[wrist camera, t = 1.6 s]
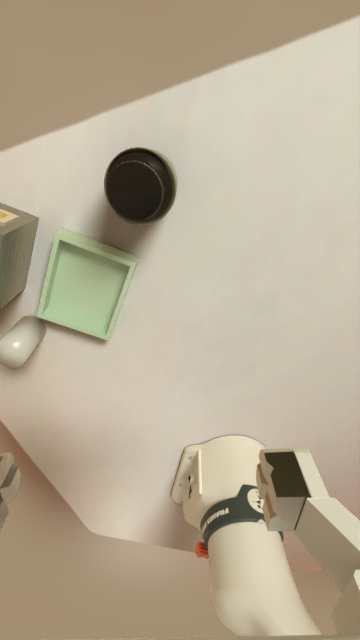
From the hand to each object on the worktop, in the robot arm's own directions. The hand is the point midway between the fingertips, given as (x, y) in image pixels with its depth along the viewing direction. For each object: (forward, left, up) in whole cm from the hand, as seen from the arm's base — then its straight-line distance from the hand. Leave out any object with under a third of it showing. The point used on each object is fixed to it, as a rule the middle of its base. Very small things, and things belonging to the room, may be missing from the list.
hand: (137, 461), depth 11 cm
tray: (-10, +7, -33) cm, 36 cm away
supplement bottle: (+5, +4, -33) cm, 34 cm away
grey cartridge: (-20, +13, -33) cm, 41 cm away
